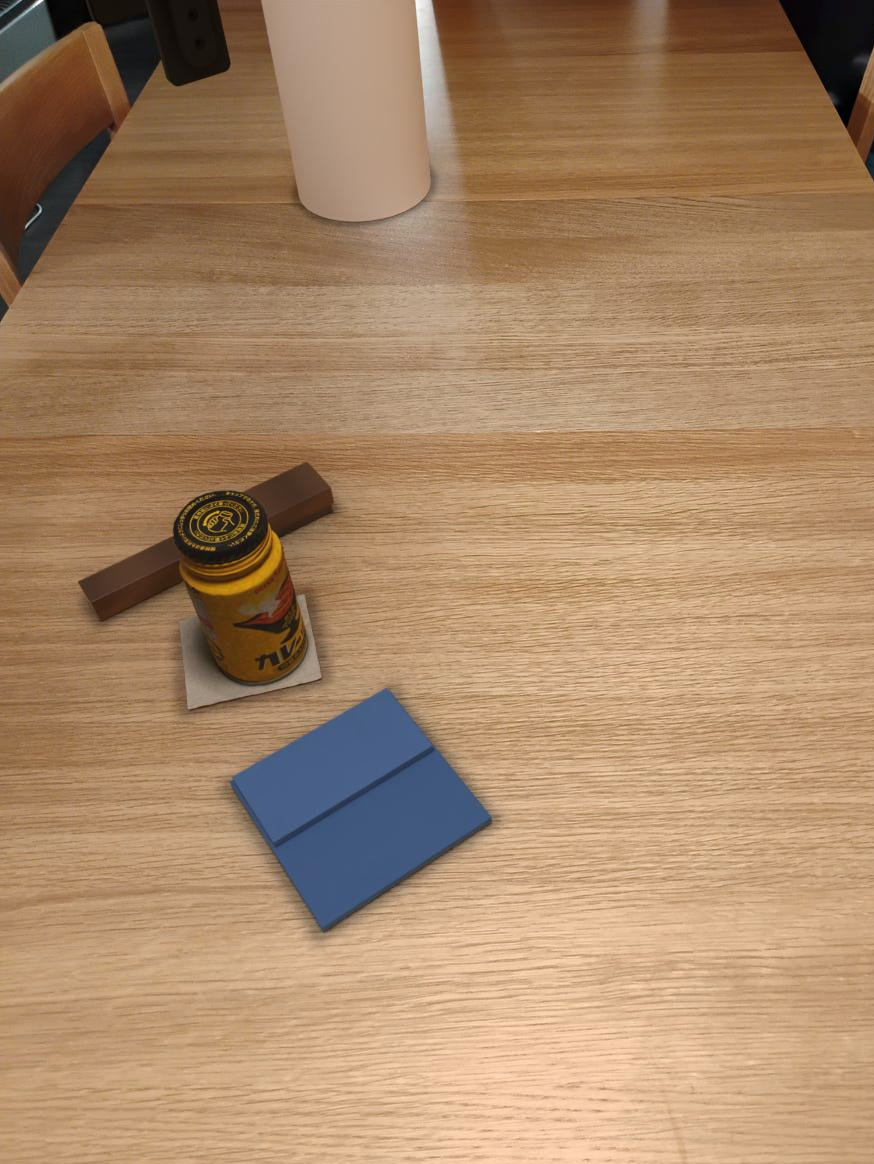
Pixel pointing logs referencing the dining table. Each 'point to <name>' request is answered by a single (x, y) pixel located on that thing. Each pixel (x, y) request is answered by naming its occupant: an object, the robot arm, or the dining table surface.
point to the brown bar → (157, 567)
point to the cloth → (358, 806)
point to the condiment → (239, 603)
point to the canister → (351, 104)
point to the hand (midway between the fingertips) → (159, 45)
